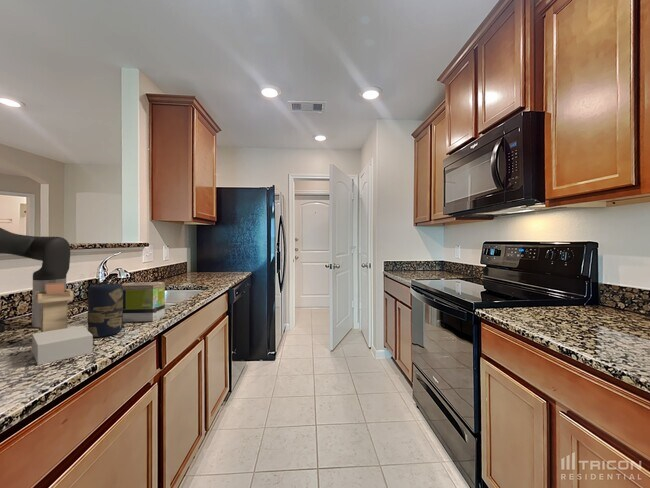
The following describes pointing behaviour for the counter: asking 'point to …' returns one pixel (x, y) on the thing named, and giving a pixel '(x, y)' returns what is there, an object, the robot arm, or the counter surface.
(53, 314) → the pedestal tray
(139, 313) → the tea box
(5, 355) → the counter surface
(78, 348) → the dock
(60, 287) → the cargo block
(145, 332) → the counter surface
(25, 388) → the counter surface
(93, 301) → the canister
